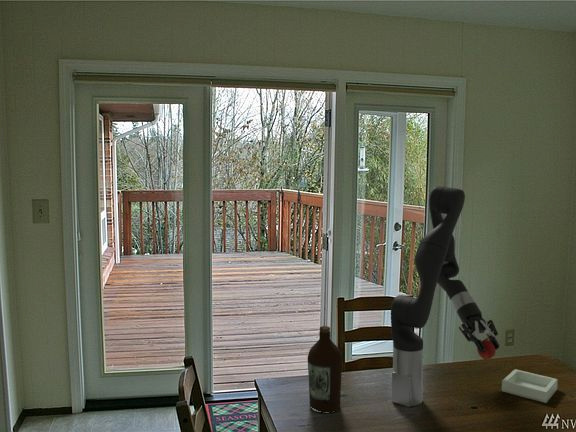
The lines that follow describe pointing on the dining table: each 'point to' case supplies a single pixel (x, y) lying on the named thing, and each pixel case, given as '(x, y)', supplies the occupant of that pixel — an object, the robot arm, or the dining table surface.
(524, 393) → the bin
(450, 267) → the robot arm
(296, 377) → the dining table surface
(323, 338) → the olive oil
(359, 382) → the dining table surface
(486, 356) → the onion
